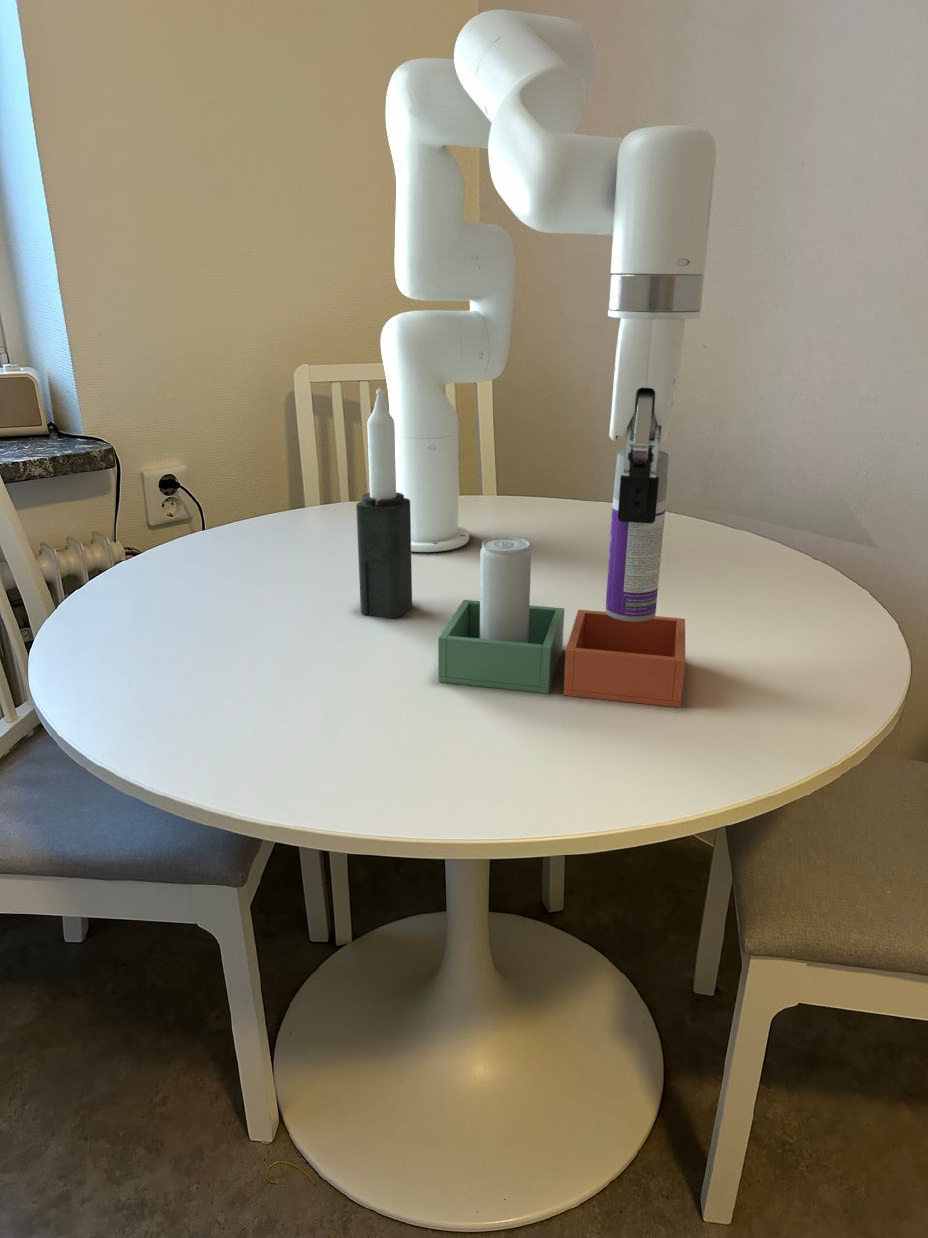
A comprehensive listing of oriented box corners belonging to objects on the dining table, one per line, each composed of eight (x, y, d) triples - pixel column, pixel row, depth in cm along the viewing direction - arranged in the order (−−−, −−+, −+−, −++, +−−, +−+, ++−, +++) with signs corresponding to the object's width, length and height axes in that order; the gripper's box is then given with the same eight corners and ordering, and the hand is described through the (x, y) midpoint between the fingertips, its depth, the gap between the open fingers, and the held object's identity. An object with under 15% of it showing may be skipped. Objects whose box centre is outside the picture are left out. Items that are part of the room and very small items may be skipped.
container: (600, 604, 84) (610, 448, 79) (647, 603, 85) (661, 448, 79) (611, 622, 80) (623, 459, 74) (661, 621, 80) (677, 458, 75)
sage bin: (438, 682, 84) (437, 637, 82) (463, 639, 93) (463, 599, 91) (548, 693, 81) (550, 648, 80) (562, 649, 91) (564, 608, 89)
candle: (415, 604, 103) (411, 386, 94) (398, 619, 98) (392, 392, 89) (375, 599, 104) (368, 384, 95) (357, 614, 100) (347, 390, 91)
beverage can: (528, 650, 89) (532, 537, 85) (526, 670, 85) (530, 551, 80) (481, 648, 90) (482, 535, 85) (477, 668, 85) (478, 550, 81)
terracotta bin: (563, 695, 81) (565, 650, 79) (575, 650, 91) (578, 609, 89) (680, 707, 79) (685, 661, 77) (680, 660, 88) (685, 618, 87)
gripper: (616, 295, 80) (603, 490, 87) (600, 301, 65) (586, 536, 72) (699, 296, 79) (680, 494, 86) (704, 302, 64) (680, 543, 70)
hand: (637, 511), depth 79 cm, fingers closed on container, 4 cm apart
